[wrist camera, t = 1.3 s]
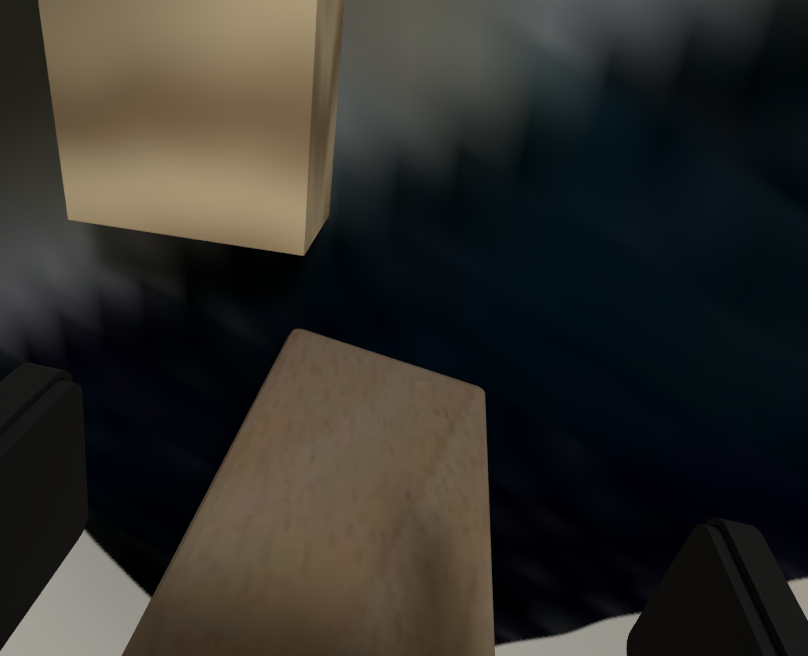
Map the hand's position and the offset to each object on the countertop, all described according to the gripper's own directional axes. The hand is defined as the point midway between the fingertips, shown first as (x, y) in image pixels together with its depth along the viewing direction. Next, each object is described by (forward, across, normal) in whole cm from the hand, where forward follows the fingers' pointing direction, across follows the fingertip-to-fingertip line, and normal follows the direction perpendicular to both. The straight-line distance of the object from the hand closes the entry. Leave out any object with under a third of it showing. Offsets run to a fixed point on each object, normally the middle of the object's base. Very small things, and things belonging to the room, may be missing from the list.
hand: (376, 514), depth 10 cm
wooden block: (+19, 0, +14) cm, 24 cm away
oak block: (+20, +9, -2) cm, 22 cm away
